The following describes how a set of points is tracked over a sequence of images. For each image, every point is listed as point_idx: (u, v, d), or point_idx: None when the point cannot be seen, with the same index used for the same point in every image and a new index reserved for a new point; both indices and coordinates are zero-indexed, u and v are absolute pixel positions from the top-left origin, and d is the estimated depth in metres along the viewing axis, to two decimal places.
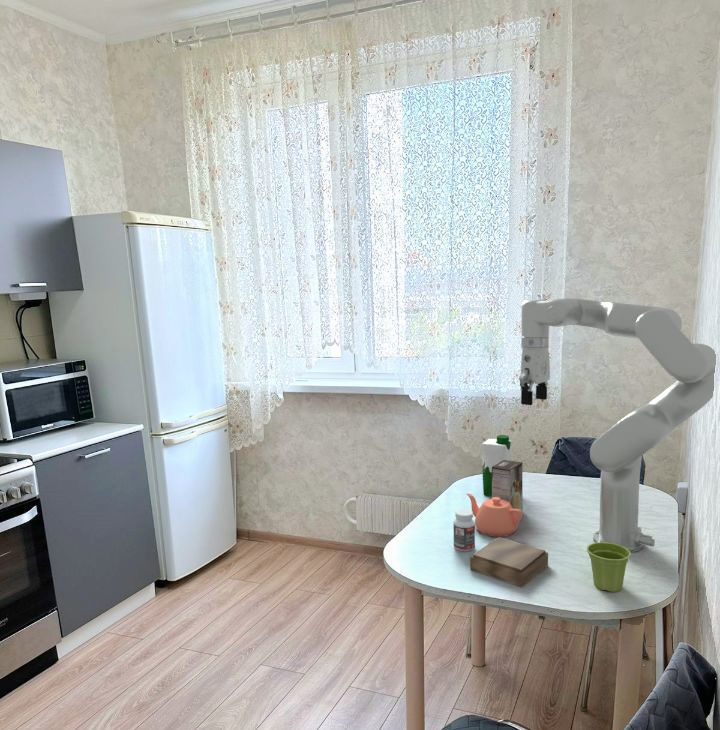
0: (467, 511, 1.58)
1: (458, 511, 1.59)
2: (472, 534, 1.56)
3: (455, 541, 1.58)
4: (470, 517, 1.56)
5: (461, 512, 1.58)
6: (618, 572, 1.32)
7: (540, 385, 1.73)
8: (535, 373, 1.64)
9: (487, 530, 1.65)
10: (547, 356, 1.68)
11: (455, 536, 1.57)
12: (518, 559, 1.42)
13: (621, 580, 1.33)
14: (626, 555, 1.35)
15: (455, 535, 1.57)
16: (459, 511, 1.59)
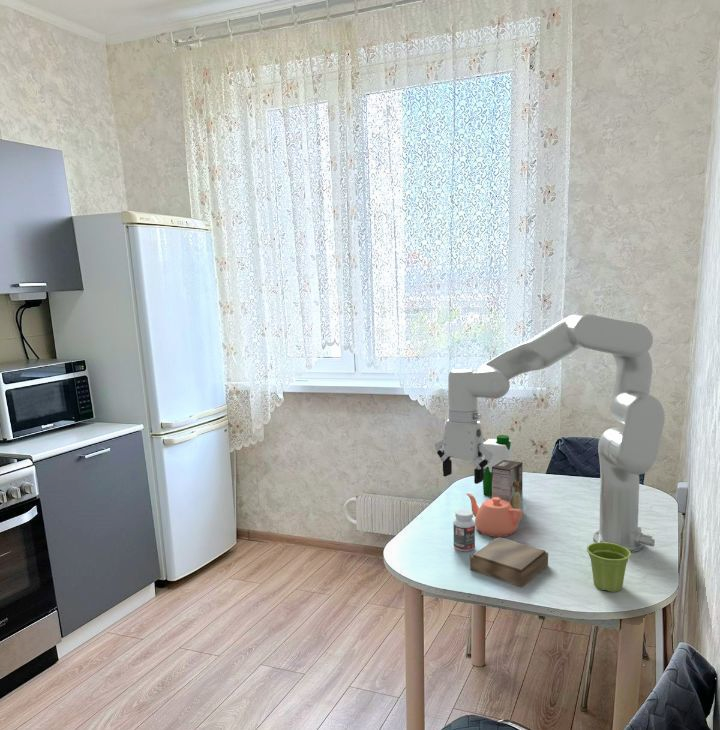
0: (467, 511, 1.58)
1: (458, 511, 1.59)
2: (472, 534, 1.56)
3: (455, 541, 1.58)
4: (470, 517, 1.56)
5: (461, 512, 1.58)
6: (618, 572, 1.32)
7: (447, 461, 1.59)
8: None
9: (487, 530, 1.65)
10: None
11: (455, 536, 1.57)
12: (518, 559, 1.42)
13: (621, 580, 1.33)
14: (626, 555, 1.35)
15: (455, 535, 1.57)
16: (459, 511, 1.59)
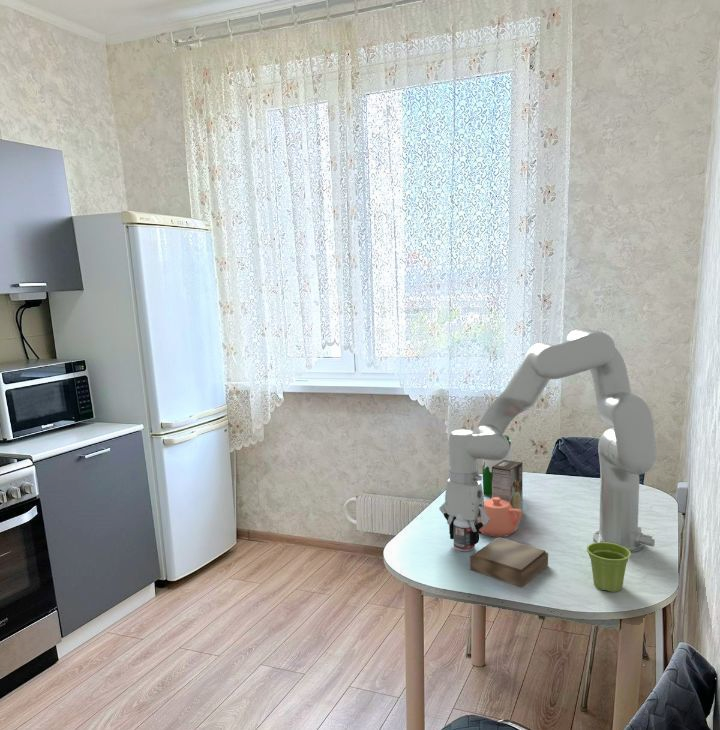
0: None
1: None
2: None
3: (455, 541, 1.58)
4: None
5: None
6: (618, 572, 1.32)
7: None
8: None
9: (487, 530, 1.65)
10: None
11: (455, 536, 1.57)
12: (518, 559, 1.42)
13: (621, 580, 1.33)
14: (626, 555, 1.35)
15: (455, 535, 1.57)
16: None
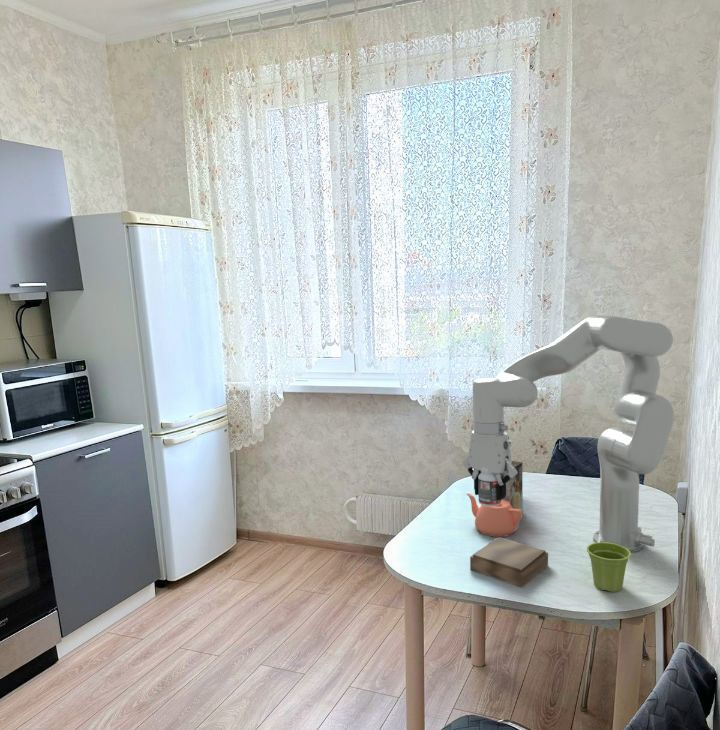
0: None
1: None
2: None
3: (480, 496, 1.49)
4: None
5: None
6: (618, 572, 1.32)
7: None
8: None
9: (487, 530, 1.65)
10: None
11: (480, 491, 1.49)
12: (518, 559, 1.42)
13: (621, 580, 1.33)
14: (626, 555, 1.35)
15: (480, 490, 1.49)
16: None
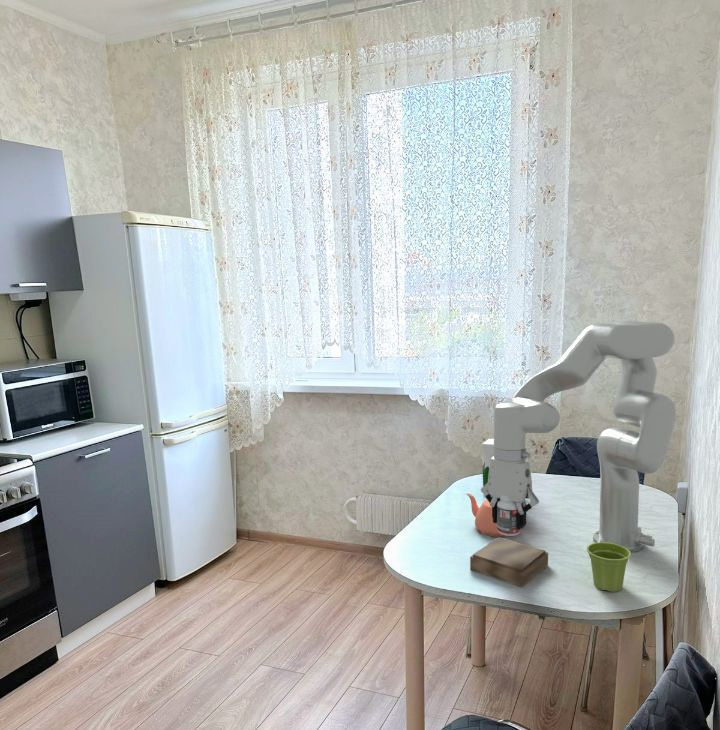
0: None
1: None
2: None
3: (499, 525, 1.44)
4: None
5: None
6: (618, 572, 1.32)
7: None
8: None
9: (487, 530, 1.65)
10: None
11: (499, 519, 1.44)
12: (518, 559, 1.42)
13: (621, 580, 1.33)
14: (626, 555, 1.35)
15: (499, 518, 1.44)
16: None
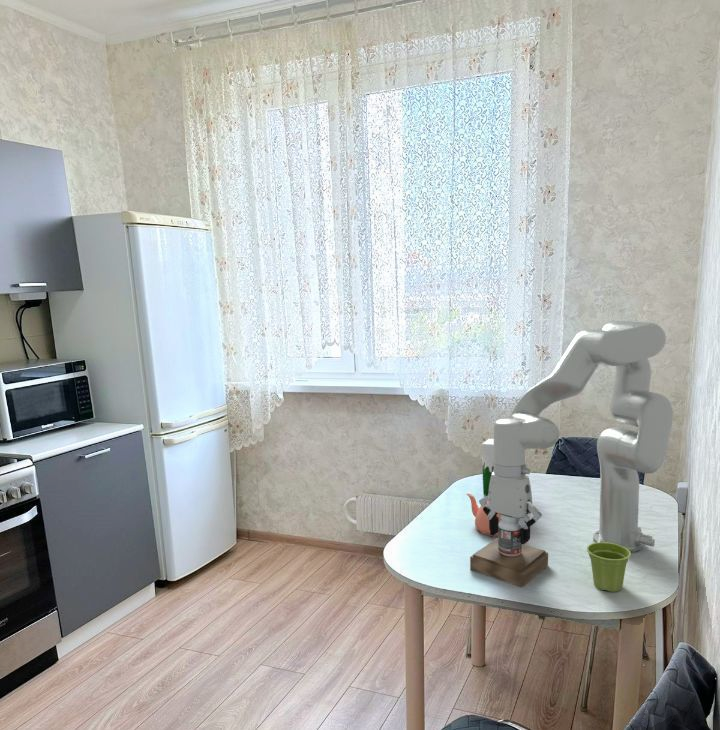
0: None
1: None
2: (519, 538, 1.44)
3: (500, 545, 1.45)
4: (517, 519, 1.43)
5: None
6: (618, 572, 1.32)
7: (494, 519, 1.48)
8: None
9: (487, 530, 1.65)
10: None
11: (500, 540, 1.45)
12: (518, 559, 1.42)
13: (621, 580, 1.33)
14: (626, 555, 1.35)
15: (500, 539, 1.45)
16: None
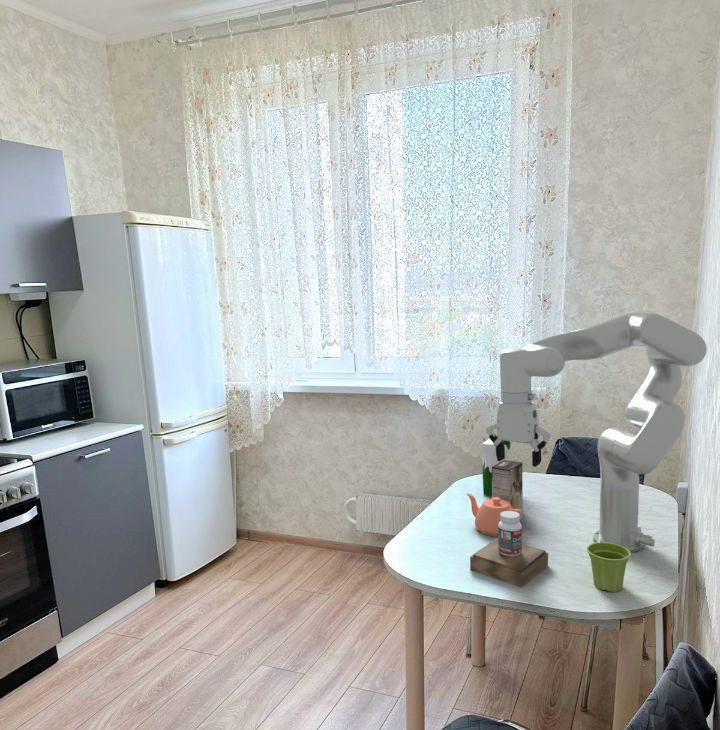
0: (513, 513, 1.46)
1: (503, 513, 1.46)
2: (519, 538, 1.44)
3: (500, 545, 1.45)
4: (517, 519, 1.43)
5: (506, 514, 1.45)
6: (618, 572, 1.32)
7: (500, 445, 1.53)
8: None
9: (487, 530, 1.65)
10: None
11: (500, 540, 1.45)
12: (518, 559, 1.42)
13: (621, 580, 1.33)
14: (626, 555, 1.35)
15: (500, 539, 1.45)
16: (504, 513, 1.46)
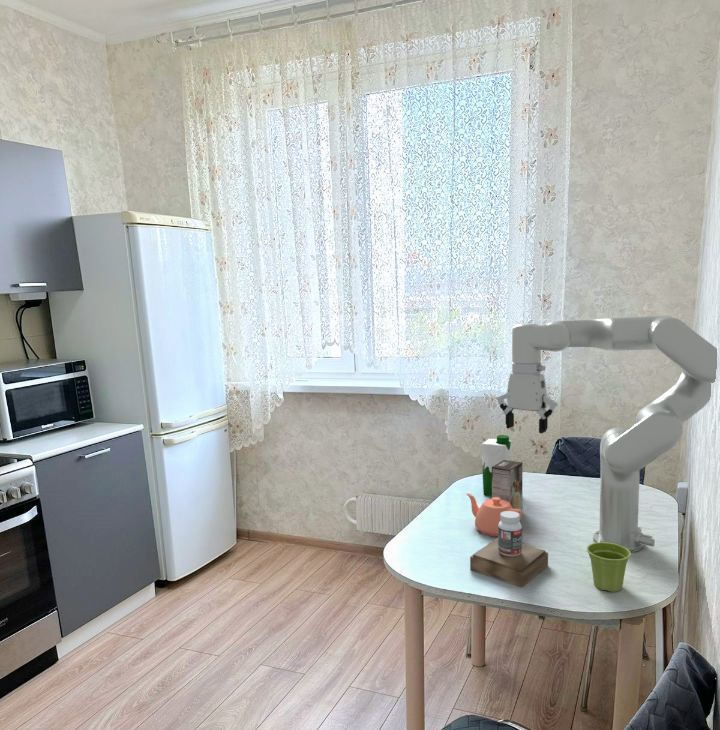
0: (513, 513, 1.46)
1: (503, 513, 1.46)
2: (519, 538, 1.44)
3: (500, 545, 1.45)
4: (517, 519, 1.43)
5: (506, 514, 1.45)
6: (618, 572, 1.32)
7: (510, 414, 1.65)
8: None
9: (487, 530, 1.65)
10: None
11: (500, 540, 1.45)
12: (518, 559, 1.42)
13: (621, 580, 1.33)
14: (626, 555, 1.35)
15: (500, 539, 1.45)
16: (504, 513, 1.46)
